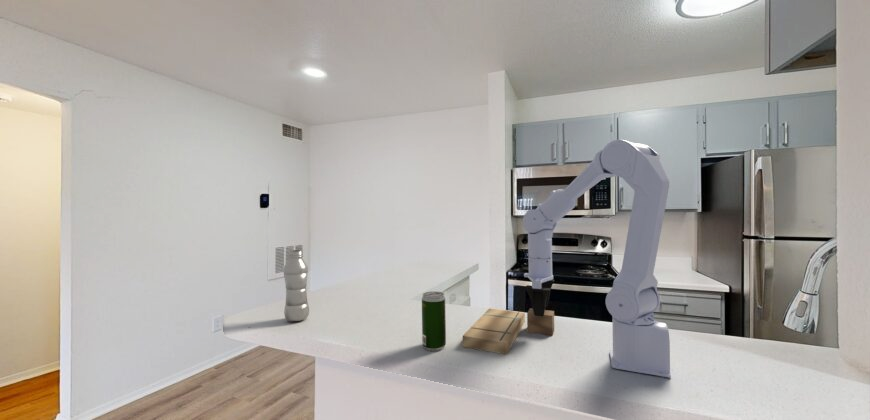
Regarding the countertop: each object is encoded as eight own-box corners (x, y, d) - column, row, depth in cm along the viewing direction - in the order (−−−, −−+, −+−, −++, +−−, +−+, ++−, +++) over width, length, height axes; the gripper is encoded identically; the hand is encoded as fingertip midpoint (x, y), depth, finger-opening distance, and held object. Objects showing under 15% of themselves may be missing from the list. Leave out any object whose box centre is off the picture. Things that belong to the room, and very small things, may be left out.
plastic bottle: (304, 324, 92) (302, 252, 91) (279, 324, 92) (278, 252, 92) (313, 316, 98) (311, 249, 98) (290, 316, 98) (289, 249, 98)
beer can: (430, 353, 72) (429, 298, 72) (418, 345, 76) (417, 293, 76) (450, 347, 75) (449, 294, 74) (437, 340, 79) (436, 290, 79)
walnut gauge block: (554, 330, 84) (554, 311, 84) (552, 336, 81) (552, 315, 81) (530, 327, 87) (529, 308, 87) (527, 332, 83) (527, 312, 83)
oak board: (524, 321, 91) (524, 312, 91) (506, 354, 71) (506, 342, 71) (489, 317, 95) (489, 308, 95) (462, 346, 75) (462, 335, 75)
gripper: (528, 253, 92) (529, 302, 92) (518, 260, 79) (519, 317, 79) (555, 254, 89) (556, 304, 89) (549, 262, 76) (550, 321, 76)
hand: (541, 311), depth 84 cm, fingers open, 7 cm apart
